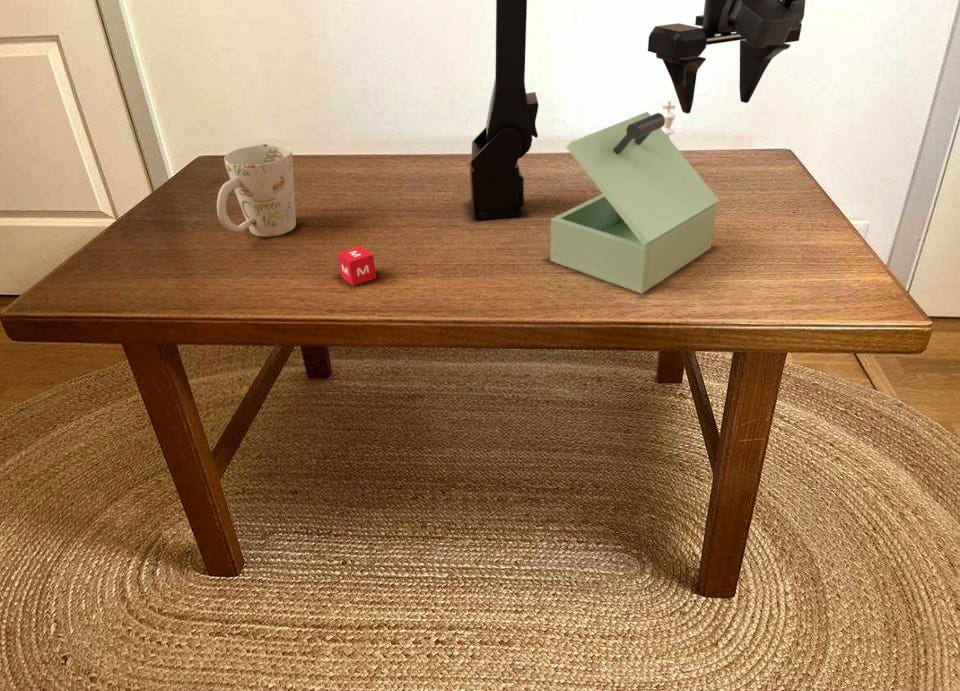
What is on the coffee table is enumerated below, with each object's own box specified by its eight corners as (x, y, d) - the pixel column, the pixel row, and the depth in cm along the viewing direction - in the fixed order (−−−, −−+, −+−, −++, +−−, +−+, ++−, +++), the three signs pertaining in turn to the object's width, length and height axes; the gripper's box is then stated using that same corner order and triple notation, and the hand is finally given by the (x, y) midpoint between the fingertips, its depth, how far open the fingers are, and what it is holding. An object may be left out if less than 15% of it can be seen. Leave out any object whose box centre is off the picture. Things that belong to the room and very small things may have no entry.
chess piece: (680, 174, 107) (687, 105, 102) (646, 173, 108) (652, 105, 103) (679, 163, 111) (686, 97, 106) (646, 162, 112) (652, 96, 107)
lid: (565, 147, 76) (591, 114, 72) (643, 116, 85) (670, 85, 81) (643, 246, 75) (674, 219, 71) (714, 204, 83) (745, 177, 79)
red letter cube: (376, 278, 83) (373, 254, 81) (353, 286, 82) (349, 262, 80) (363, 269, 85) (360, 245, 83) (340, 277, 84) (337, 253, 82)
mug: (317, 220, 98) (304, 147, 93) (256, 258, 89) (238, 180, 83) (268, 212, 101) (253, 141, 96) (205, 248, 92) (184, 172, 86)
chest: (550, 261, 85) (550, 218, 82) (621, 222, 94) (624, 182, 91) (641, 293, 77) (645, 248, 75) (710, 248, 86) (716, 206, 83)
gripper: (717, -19, 73) (698, 135, 82) (852, -33, 80) (821, 111, 88) (651, -27, 82) (639, 112, 90) (777, -40, 88) (755, 92, 97)
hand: (715, 107), depth 91 cm, fingers open, 9 cm apart
